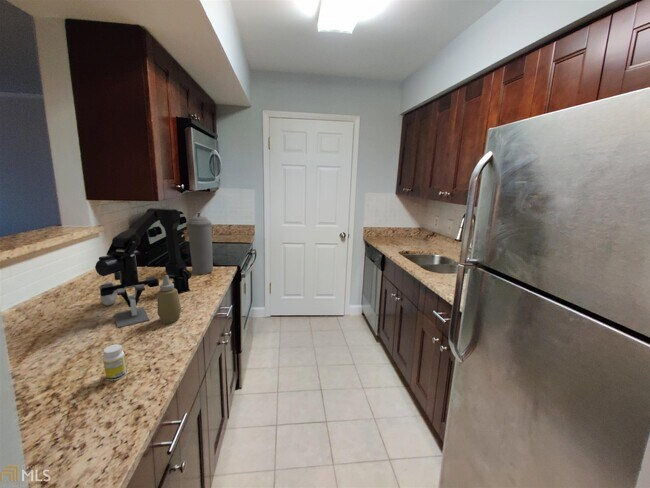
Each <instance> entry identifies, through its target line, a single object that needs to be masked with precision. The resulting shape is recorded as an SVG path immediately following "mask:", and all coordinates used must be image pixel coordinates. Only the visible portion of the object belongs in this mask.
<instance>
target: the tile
mask: <svg viewBox="0 0 650 488" xmlns="http://www.w3.org/2000/svg"><path fill="white" fill-rule="evenodd" d="M127 295H128V298H129V302H130V307H129V310H130V311H131V314H132V316H134V315H137V308H138V307H137V306H136V300H135V295H134V294H132V293H131V294H130V293H129V294H127Z"/></svg>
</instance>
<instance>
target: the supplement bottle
mask: <svg viewBox="0 0 650 488" xmlns="http://www.w3.org/2000/svg"><path fill="white" fill-rule="evenodd" d="M125 355H126V354H125V352H124V351H123V346H122V345H121V344H117V343H116V344H112V345H109V346H106V347H105V348H104V349H103V358H102V361H103V367H104V372H105V373H104V374H105V378H106V380H107V381H109V380H110V381H109V382H112V381H113V380H114V381H118V380H121V379H122V378H124V377H125V376H126V375H127V374H128V369H127V363H126V361H127V360H126V356H125ZM120 378H121V379H120ZM114 381H113V382H114Z"/></svg>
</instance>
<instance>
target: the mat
mask: <svg viewBox="0 0 650 488" xmlns="http://www.w3.org/2000/svg"><path fill="white" fill-rule="evenodd" d="M113 314H114V318H115V323H116V326H117V327H116V328H117V329H119V328H125V327H128V326H133V325H137V324H140V323H145V322H148V321H150V318H149V316H148V314H147V311H146V310H145V308H144V306H141V307H137V315H134V316H132V314H131V311H130V309H128V310H124V311H123V310H122V311H118V312H114V313H113Z"/></svg>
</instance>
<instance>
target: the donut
mask: <svg viewBox="0 0 650 488" xmlns="http://www.w3.org/2000/svg"><path fill="white" fill-rule="evenodd" d="M110 283H112V284H113V286H114V285H116V284H115V283H114V282H113V281H107V282H104V284H110ZM99 296H100V302H101V304H103V305H105V306H111V305H113V304H114V303H115V302H116V301H117V297H118V295H117V292H116V290H115V291H114V293H113V294H112V295H106V296H101V293H100V292H99Z"/></svg>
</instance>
